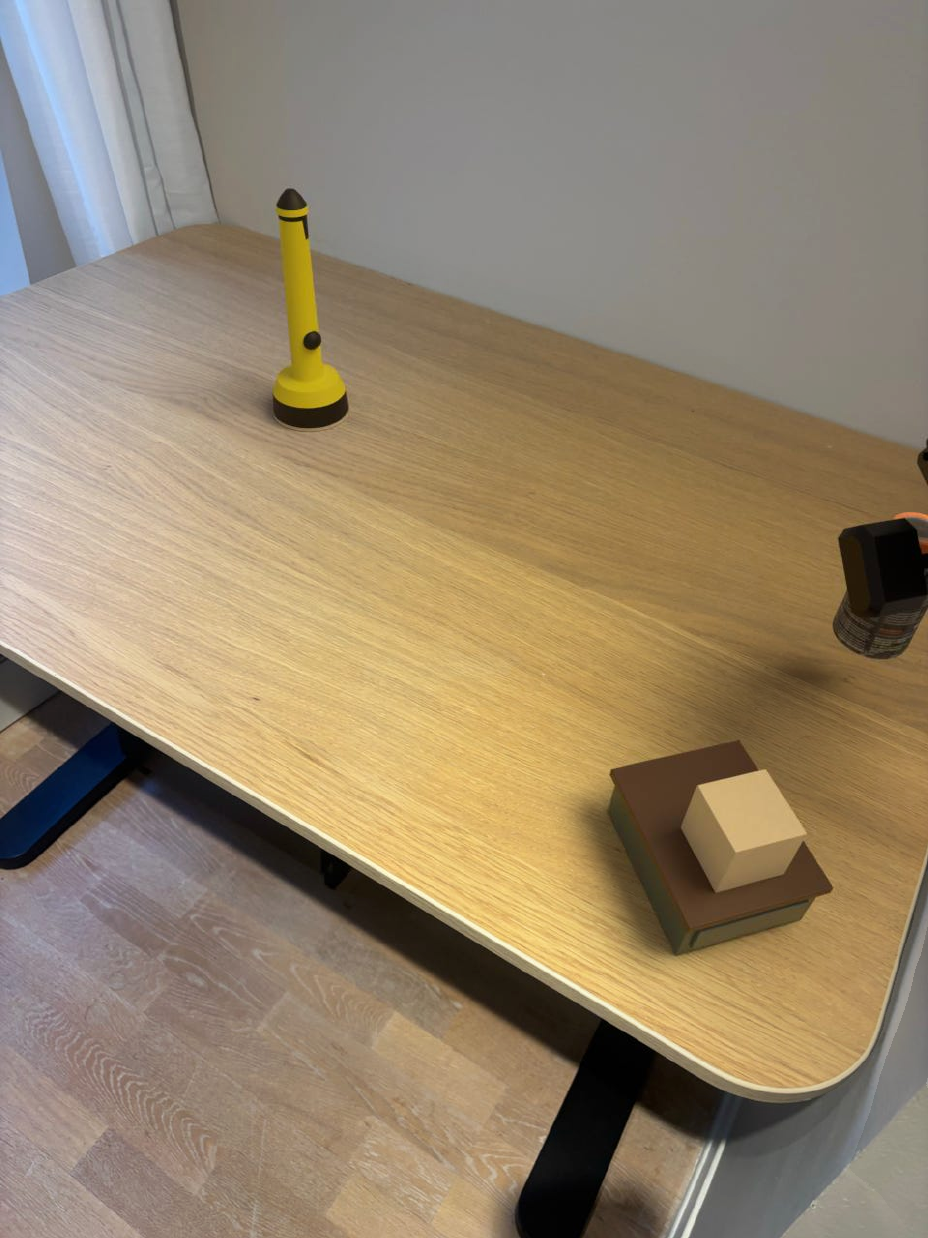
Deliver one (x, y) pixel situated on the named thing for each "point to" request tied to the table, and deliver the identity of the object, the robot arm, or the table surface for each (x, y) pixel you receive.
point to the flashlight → (303, 334)
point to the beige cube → (742, 830)
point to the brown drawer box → (670, 869)
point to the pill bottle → (884, 632)
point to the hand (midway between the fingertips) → (887, 564)
